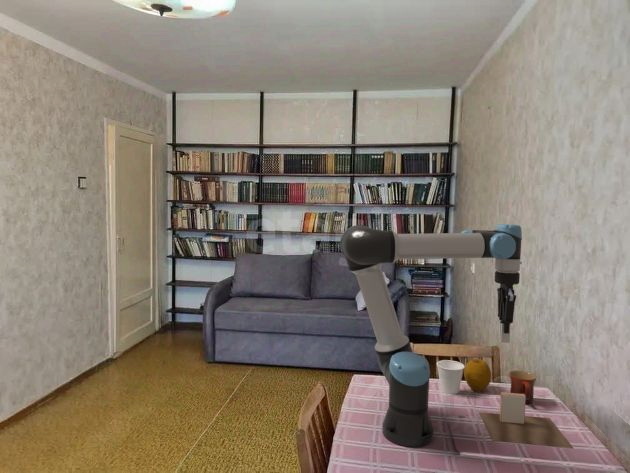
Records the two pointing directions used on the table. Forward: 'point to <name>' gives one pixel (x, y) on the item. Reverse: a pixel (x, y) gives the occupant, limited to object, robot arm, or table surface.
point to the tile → (512, 408)
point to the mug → (523, 384)
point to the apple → (477, 374)
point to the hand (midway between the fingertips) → (504, 341)
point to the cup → (450, 376)
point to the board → (525, 431)
